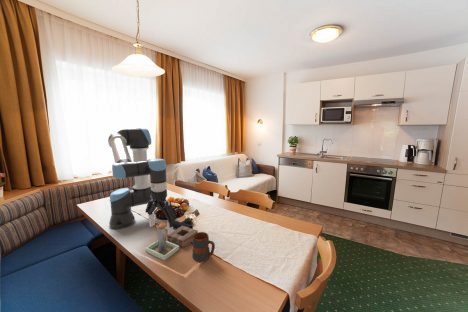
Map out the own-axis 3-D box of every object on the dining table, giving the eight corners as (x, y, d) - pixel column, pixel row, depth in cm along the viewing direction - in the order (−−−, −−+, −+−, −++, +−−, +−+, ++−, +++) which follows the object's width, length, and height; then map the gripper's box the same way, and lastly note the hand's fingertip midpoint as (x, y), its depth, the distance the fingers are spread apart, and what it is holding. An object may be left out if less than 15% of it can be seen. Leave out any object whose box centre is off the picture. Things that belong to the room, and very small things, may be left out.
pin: (155, 252, 101) (153, 225, 99) (163, 247, 105) (161, 221, 103) (162, 255, 99) (160, 227, 97) (169, 249, 103) (167, 223, 101)
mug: (210, 266, 91) (210, 244, 90) (189, 260, 96) (188, 238, 94) (218, 255, 99) (218, 234, 98) (198, 250, 104) (197, 230, 102)
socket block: (167, 243, 110) (167, 234, 109) (182, 233, 120) (182, 225, 120) (183, 249, 104) (183, 240, 104) (197, 238, 115) (197, 230, 114)
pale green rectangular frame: (145, 253, 101) (145, 247, 101) (161, 243, 110) (160, 238, 109) (164, 262, 94) (164, 256, 94) (179, 250, 103) (179, 245, 103)
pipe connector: (182, 214, 135) (199, 219, 128) (182, 221, 136) (199, 226, 129) (169, 221, 125) (187, 227, 118) (170, 229, 126) (187, 235, 119)
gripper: (136, 187, 100) (139, 225, 103) (171, 196, 88) (172, 239, 91) (149, 183, 106) (151, 219, 110) (182, 191, 94) (184, 232, 98)
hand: (161, 228), depth 101 cm, fingers open, 13 cm apart
